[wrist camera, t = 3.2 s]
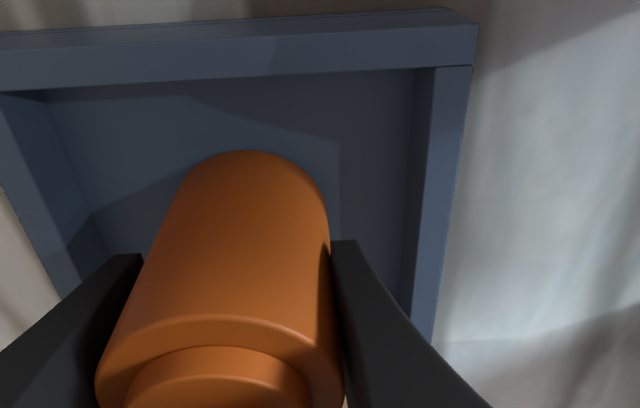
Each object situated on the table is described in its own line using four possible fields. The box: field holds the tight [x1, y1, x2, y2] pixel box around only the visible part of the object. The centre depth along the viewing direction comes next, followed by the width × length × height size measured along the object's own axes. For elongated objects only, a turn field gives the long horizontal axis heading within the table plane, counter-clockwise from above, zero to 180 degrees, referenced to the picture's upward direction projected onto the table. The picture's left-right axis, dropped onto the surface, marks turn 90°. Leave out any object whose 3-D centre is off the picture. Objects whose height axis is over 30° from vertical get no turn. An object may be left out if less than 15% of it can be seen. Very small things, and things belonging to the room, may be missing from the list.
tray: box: [0, 8, 479, 408], centre depth 15 cm, size 20×11×2 cm, turn 3°
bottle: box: [94, 150, 345, 408], centre depth 9 cm, size 4×4×8 cm
